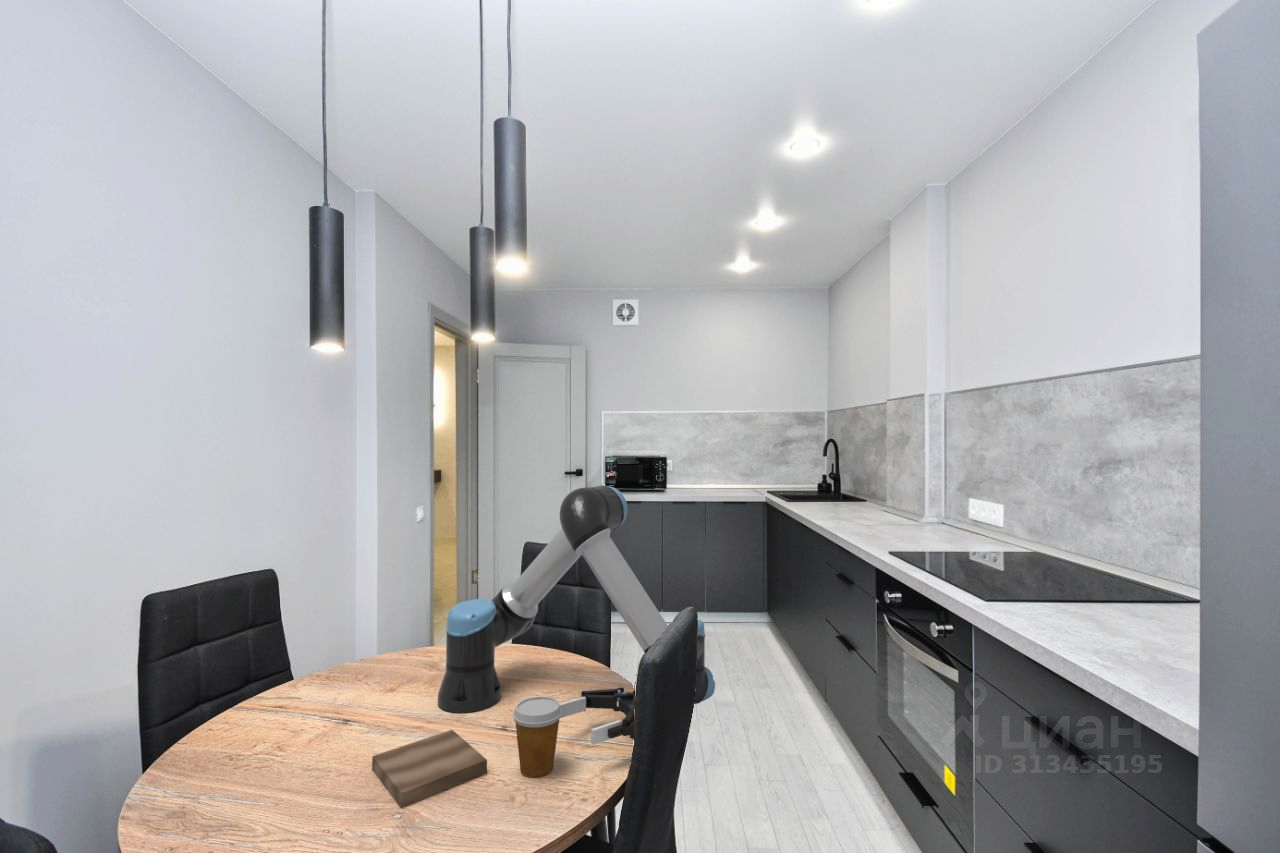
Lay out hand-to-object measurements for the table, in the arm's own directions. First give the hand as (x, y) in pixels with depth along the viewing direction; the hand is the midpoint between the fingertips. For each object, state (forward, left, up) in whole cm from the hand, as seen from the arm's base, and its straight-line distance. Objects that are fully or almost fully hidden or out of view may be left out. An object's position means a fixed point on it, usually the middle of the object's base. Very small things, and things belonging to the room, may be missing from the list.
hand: (574, 723), depth 113 cm
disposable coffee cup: (-1, -8, -7) cm, 11 cm away
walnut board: (-14, -24, -7) cm, 29 cm away
